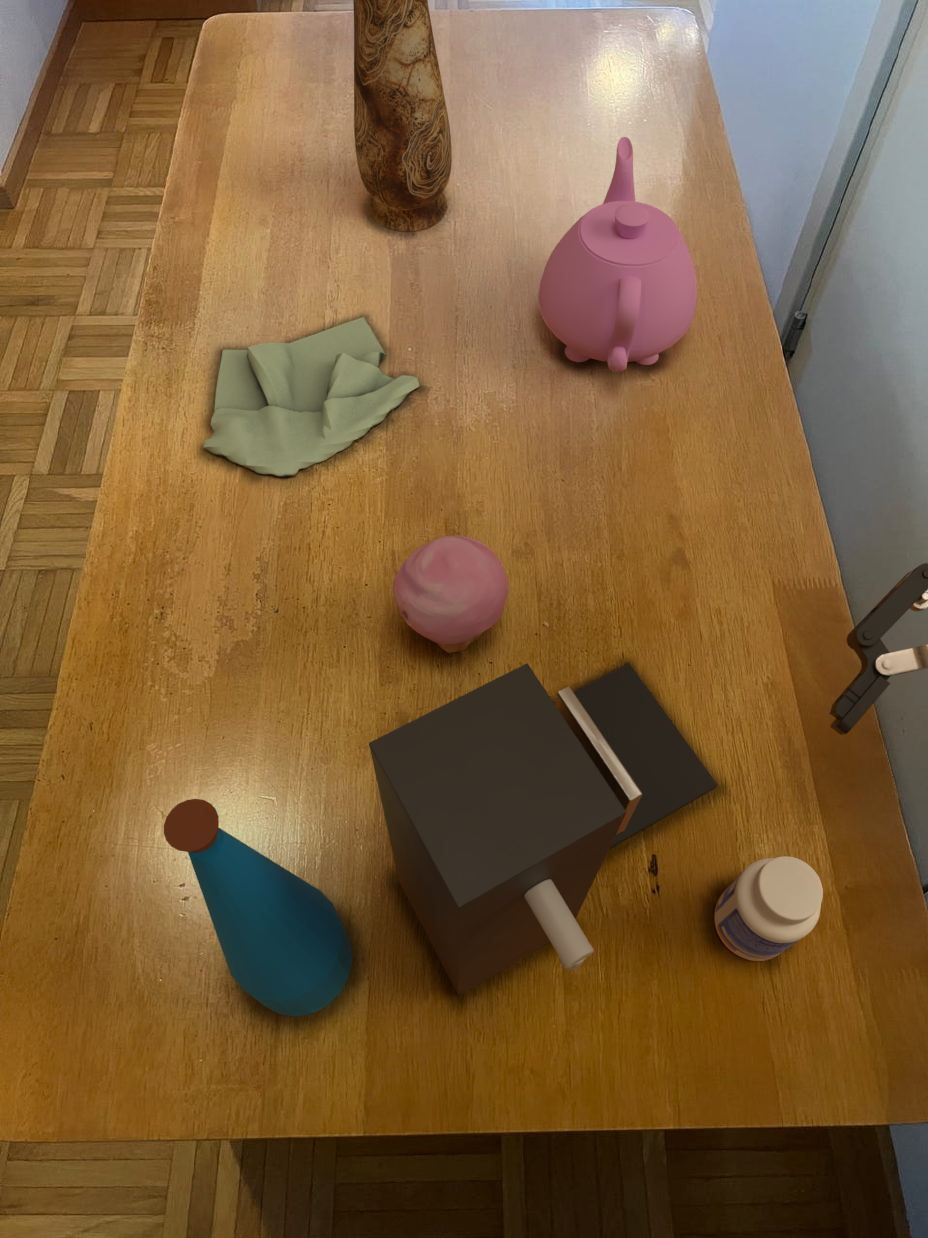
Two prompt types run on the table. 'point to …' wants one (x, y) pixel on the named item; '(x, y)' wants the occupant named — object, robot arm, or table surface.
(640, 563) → the table surface
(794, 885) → the pill bottle
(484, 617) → the cupcake
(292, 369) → the cloth
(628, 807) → the plate
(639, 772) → the mat
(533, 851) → the soap dispenser
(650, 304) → the teapot
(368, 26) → the vase
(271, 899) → the bottle
